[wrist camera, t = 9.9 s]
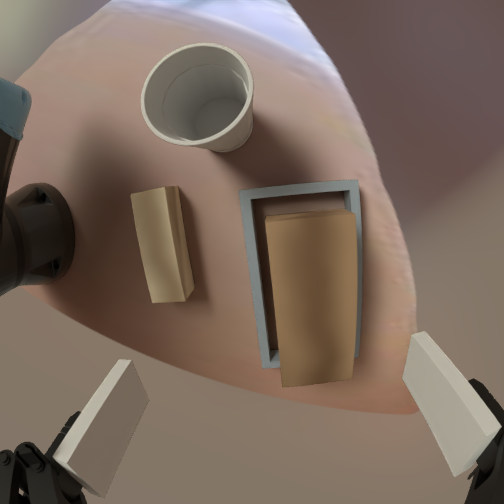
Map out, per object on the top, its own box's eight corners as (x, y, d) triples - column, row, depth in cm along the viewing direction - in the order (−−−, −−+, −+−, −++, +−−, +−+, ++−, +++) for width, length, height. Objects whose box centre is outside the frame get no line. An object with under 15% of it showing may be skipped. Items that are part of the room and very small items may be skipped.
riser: (164, 289, 32) (152, 303, 28) (146, 192, 30) (130, 194, 26) (195, 287, 32) (185, 301, 28) (177, 186, 29) (164, 186, 25)
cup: (175, 121, 27) (123, 92, 16) (232, 79, 26) (209, 25, 14) (215, 174, 29) (179, 169, 17) (275, 131, 27) (278, 97, 15)
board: (281, 363, 28) (282, 387, 24) (266, 216, 24) (265, 222, 20) (344, 356, 27) (352, 378, 24) (342, 208, 24) (355, 213, 20)
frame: (263, 357, 34) (261, 381, 29) (241, 189, 29) (235, 191, 24) (353, 346, 33) (363, 369, 28) (351, 179, 28) (366, 179, 23)
